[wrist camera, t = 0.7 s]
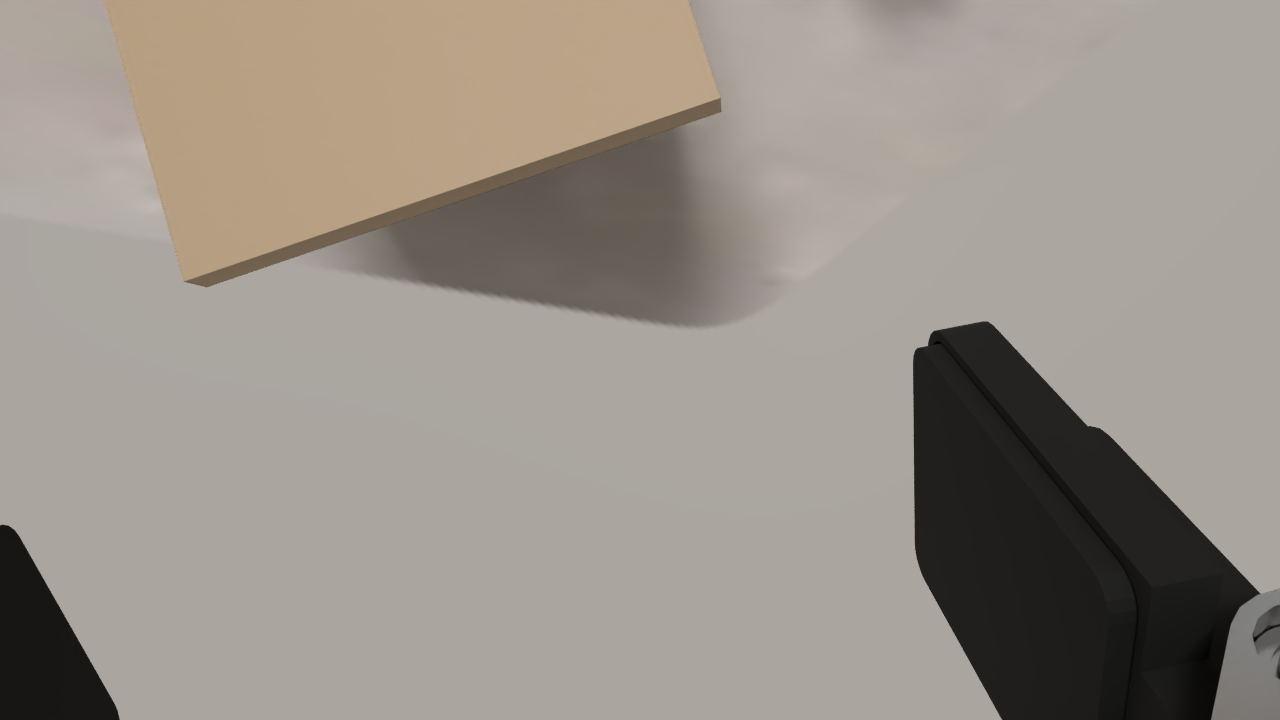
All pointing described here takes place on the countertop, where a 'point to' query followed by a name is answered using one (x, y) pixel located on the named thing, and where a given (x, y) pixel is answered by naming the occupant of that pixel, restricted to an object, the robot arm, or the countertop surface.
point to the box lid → (384, 108)
